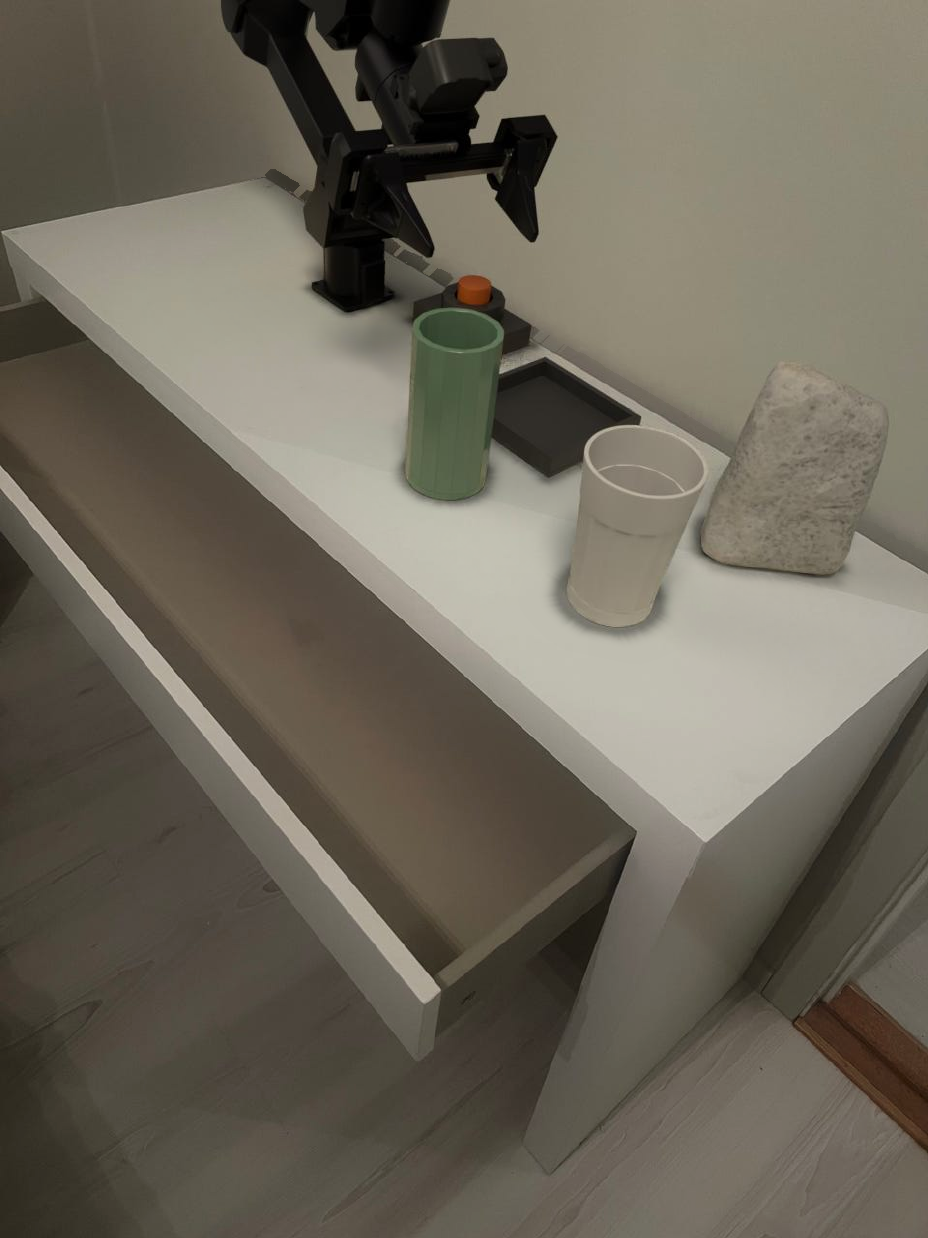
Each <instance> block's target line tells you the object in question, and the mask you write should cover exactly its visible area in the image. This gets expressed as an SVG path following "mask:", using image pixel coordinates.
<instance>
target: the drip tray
mask: <svg viewBox="0 0 928 1238" xmlns="http://www.w3.org/2000/svg"><path fill="white" fill-rule="evenodd" d="M641 421H642V416H641V415H640V414H638V413H636V412H635V411H633V410H632V409H631V408H628V407H627V406H626V405H624V404H623V403H621V402H619V401H618V400H617V399H614V397H613V398H612V397H611V396H609V395H608V394H606V393H605V392H603V391H602V390H600V389H598V388H597V387H595V386H593V385H592V384H591V383H589V382H588V381H585V380H584V379H582V378H581V377H580V376H578V375H576V374H574V373H573V372H572V371H569V370H568V369H566V368H565V367H563V366H561V365H560V364H558V363H557V362H555V361H554V360H552V359H550V358H549V357H547V356H543V357H540V358H537V359H535V360H533V361H530V362H528V363H525V364H522V365H520V366H517V367H514V368H512V369H510V370H509V369H508V370H506V371H504V372H500V373H499V379H498V387H497V395H496V403H495V411H494V419H493V427H492V435H491V439H493V440H495V441H496V442H498V443H499V444H500V445H501V446H503V447H504V448H507V450H508V451H509V452H511V453H513V454H514V455H516V456H517V457H519V458H520V459H521V460H523V461H524V462H525V463H528V464H529V465H530V466H531V467H533V468H534V469H536V471H538V472H540V473H541V474H542V475H544V476H545V477H547V479H548V478H551V477H553V476H556V475H558V474H559V473H561V472H563V471H566V470H568V469H570V468H572V467H574V466H576V465H578V464H580V463H583V457H584V449H585V446H586V443H587V442H588V440H589V439H590V438H591V437H592V436H593V435H595V434H596V433H598V432H599V431H602V430H604V429H607V428H610V427H615V426H622V425H640V426H641Z"/></svg>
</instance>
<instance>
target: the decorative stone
mask: <svg viewBox="0 0 928 1238" xmlns="http://www.w3.org/2000/svg"><path fill="white" fill-rule="evenodd" d="M889 416H890V415H889V409H888V408H887V407H886V406H885V405H884V404H883V403H882V401H880V400H878V399H876V398H874V397H873V396H870V395H869V394H867V393H865V392H863V391H861V390H859V389H857V388H856V387H853V386H851V385H849V384H847V383H843V382H842V381H840V380H838V379H835V378H834V377H832V376H830V375H828V374H826V373H824V372H822V371H820V370H819V369H817V368H816V367H814V366H813V365H812V364H811V365H810V364H808V363H804V362H801V361H795V360H784V361H783V360H782V361H779V362H778V363H777V364H775V365H774V366H773V368H772V369H771V371H770V372H769V374H768V375H767V376H766V379H765V381H764V384H763V385H762V388H761V390H760V391H759V393H758V395H757V397H756V399H755V401H754V404H753V405H752V408H751V410H750V412H749V413H748V416H747V418H746V420H745V423H744V425H743V427H742V429H741V431H740V433H739V437H738V439H737V442H736V444H735V447H734V449H733V452H732V454H731V456H730V458H729V460H728V463H727V465H726V467H725V468H724V469H723V472H722V475H721V476H720V478H719V479H718V481H717V483H716V485H715V487H714V491H713V493H712V497H711V499H710V502H709V507H708V510H707V513H706V516H705V517H704V520H703V523H702V526H701V529H700V546H701V549H702V552H703V553H705V554H706V555H707V556H708V557H710V558H711V559H713V560H715V561H717V562H720V563H722V564H725V565H726V564H727V565H732V566H739V567H746V568H761V569H771V570H774V571H781V572H782V571H784V572H791V573H792V572H793V573H805V574H811V575H832V574H835V573H837V572H838V571H839V570H840V569H841V567H842V566H843V564H844V562H845V560H846V559H847V557H848V555H849V553H850V551H851V547H852V543H853V539H854V536H855V533H856V530H857V529H858V525H859V523H860V520H861V518H862V516H863V514H864V511H865V510H866V508H867V505H868V502H869V500H870V498H871V494H872V491H873V489H874V484H875V482H876V479H877V477H878V474H879V472H880V471H879V470H880V467H881V464H882V461H883V457H884V453H885V451H886V446H887V443H888V442H887V441H888V436H889V426H890V418H889Z"/></svg>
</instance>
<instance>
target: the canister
mask: <svg viewBox="0 0 928 1238" xmlns="http://www.w3.org/2000/svg"><path fill="white" fill-rule="evenodd" d="M503 339H504V330H503V328H502V327H501V325H500V324H499V323H498V322H497V321H496V320H494V319H493V318H491V317H489V316H488V315H486V314H483V313H480V312H477V311H474V310H470V309H461V308H440V309H434V310H431V311H428V312H425V313H423V314H421V315H420V316H419V317H418V318H416V319H415V320H414V322H413V323H412V328H411V344H410V345H411V349H410V365H409V366H410V367H409V386H408V389H409V390H408V404H407V405H408V408H407V428H406V443H405V444H406V447H405V467H404V470H405V478H406V481H407V482H408V484H409V485H410V487H411V488H412V489H414V490H415V492H418V493H419V494H421V495H423V496H426V497H428V498H431V499H435V500H442V501H457V500H458V501H459V500H464V499H467V498H470V497H472V496H474V495H476V494H477V493H479V492H480V491H481V490H482V489H483V488H484V486H485V484H486V479H487V475H488V474H487V473H488V466H489V465H488V464H489V458H490V451H491V450H490V449H491V442H492V437H491V435H492V427H493V419H494V411H495V403H496V395H497V387H498V379H499V374H500V370H501V362H502V356H503V355H502V347H503Z"/></svg>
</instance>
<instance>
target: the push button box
mask: <svg viewBox="0 0 928 1238" xmlns="http://www.w3.org/2000/svg"><path fill="white" fill-rule="evenodd" d="M457 294H458V282H453V283H452V284H448V285H446V287H444V289H443V290H442V291H441V292H439V293H435V294H432V295H429V296H426V297H422V298H419V299H416V300H413V302H412V320H411V321H412V322H413V323H414V320H415V319H416V318H418V317H419V316H420V315H421V314H423V313H425V312H428V311H431V310H434V309H440V308H461V309H470V310H474V311H477V312H480V313H483V314H486V315H488V316H489V317H491V318H493V319H494V320H496V321H497V322H498V323H499V324H500V325H501V327H502V328H503V330H504V339H503V347H502V355H501V356H503V355H505V354H508V353H511V352H514V351H517V350H519V349H522V348H524V347H525V348H526V347H527V346H529V345H530V339H531V333H532V326H533V325H532V324H531V323H529V322H528V321H526V320H524V319H523V318H521V317H519V316H518V315H516V314H514V313H512V312H511V311H509V310H508V309H507V308H506V297H505V295H504V293H503V291H502V290H501V289H499V288H496V287H495V286H493V285H492V284H491V293H490V301H489V303H486V304H483V305H471V304H467V303H463V302H461V301H459V300H458V298H457Z"/></svg>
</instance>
